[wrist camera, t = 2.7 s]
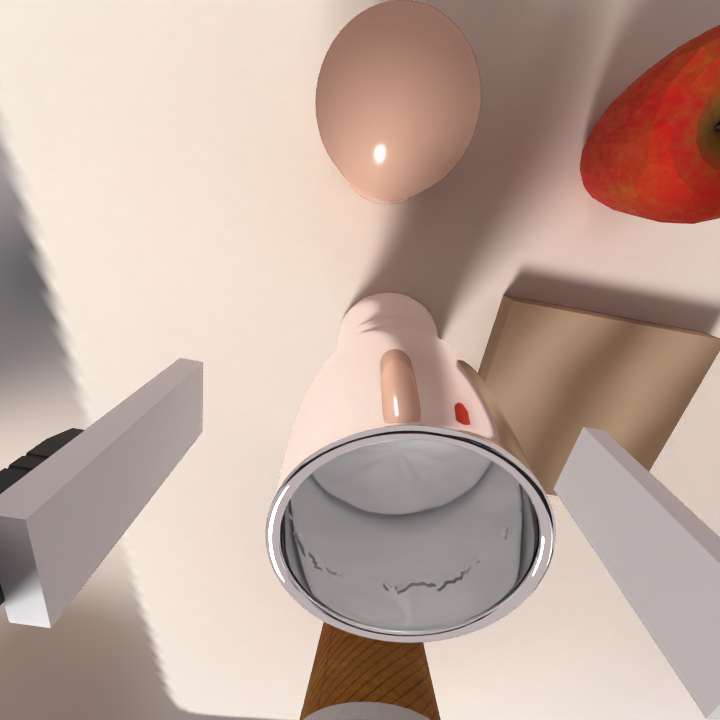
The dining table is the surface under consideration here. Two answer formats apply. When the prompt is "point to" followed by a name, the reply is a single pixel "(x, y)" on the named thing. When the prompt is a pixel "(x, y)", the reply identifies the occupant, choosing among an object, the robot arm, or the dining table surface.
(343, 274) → the dining table surface
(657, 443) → the walnut board
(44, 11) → the dining table surface
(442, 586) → the steel tumbler
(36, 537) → the robot arm
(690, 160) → the apple
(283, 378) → the dining table surface
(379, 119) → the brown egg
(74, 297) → the dining table surface
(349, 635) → the disposable coffee cup
